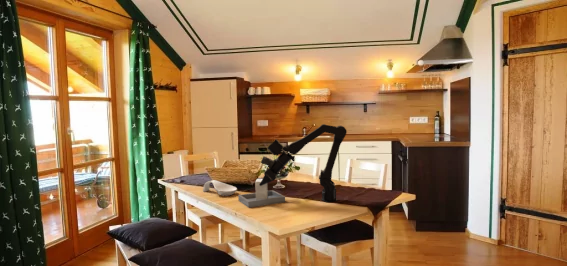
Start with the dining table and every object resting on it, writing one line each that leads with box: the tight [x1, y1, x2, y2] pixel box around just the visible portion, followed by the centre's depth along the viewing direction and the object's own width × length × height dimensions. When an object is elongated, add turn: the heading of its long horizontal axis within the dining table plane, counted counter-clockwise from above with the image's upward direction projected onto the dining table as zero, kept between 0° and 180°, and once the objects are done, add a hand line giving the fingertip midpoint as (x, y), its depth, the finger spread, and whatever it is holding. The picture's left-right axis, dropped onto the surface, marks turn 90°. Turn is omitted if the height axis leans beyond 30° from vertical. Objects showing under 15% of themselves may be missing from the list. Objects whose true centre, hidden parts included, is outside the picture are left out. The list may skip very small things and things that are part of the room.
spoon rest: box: [202, 179, 238, 197], centre depth 218 cm, size 24×12×7 cm, turn 54°
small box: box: [254, 178, 269, 200], centre depth 197 cm, size 8×6×10 cm
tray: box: [237, 190, 286, 209], centre depth 197 cm, size 20×16×3 cm
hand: (260, 183), depth 196 cm, fingers open, 9 cm apart
